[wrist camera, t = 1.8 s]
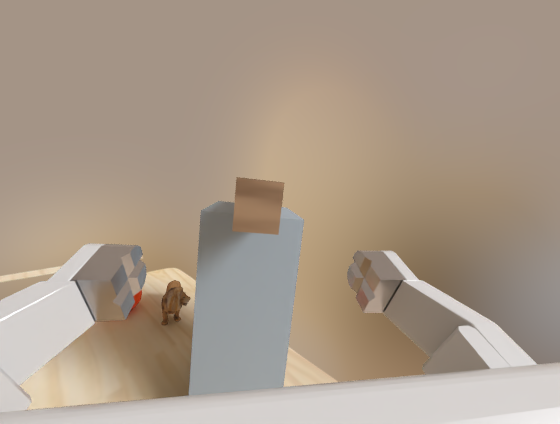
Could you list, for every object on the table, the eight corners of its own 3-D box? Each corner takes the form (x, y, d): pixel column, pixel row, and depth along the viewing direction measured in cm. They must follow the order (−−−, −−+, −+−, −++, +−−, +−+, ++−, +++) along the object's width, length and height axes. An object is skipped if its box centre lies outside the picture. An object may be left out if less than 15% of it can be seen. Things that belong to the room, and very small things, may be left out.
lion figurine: (189, 329, 47) (192, 290, 46) (161, 336, 44) (163, 294, 43) (179, 296, 59) (181, 264, 58) (157, 300, 56) (159, 267, 55)
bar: (278, 234, 17) (284, 182, 16) (232, 231, 16) (236, 177, 16) (263, 205, 38) (265, 182, 38) (243, 203, 38) (245, 180, 37)
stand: (278, 428, 29) (304, 219, 26) (186, 433, 28) (200, 210, 24) (270, 354, 42) (286, 207, 39) (206, 354, 40) (218, 201, 37)
